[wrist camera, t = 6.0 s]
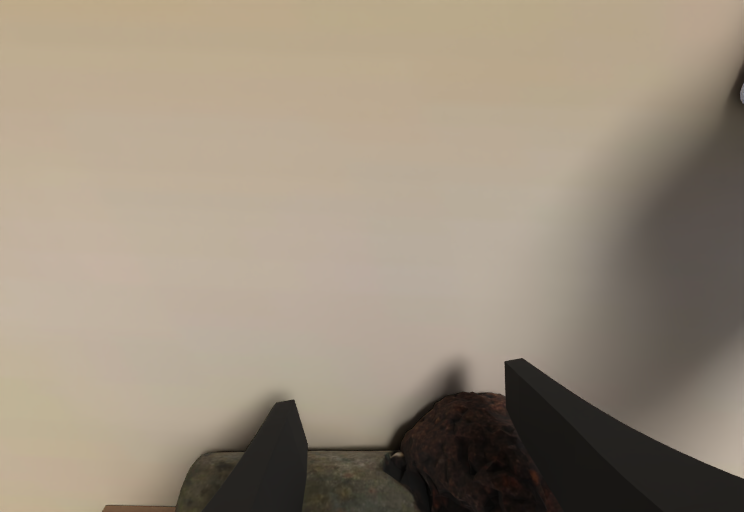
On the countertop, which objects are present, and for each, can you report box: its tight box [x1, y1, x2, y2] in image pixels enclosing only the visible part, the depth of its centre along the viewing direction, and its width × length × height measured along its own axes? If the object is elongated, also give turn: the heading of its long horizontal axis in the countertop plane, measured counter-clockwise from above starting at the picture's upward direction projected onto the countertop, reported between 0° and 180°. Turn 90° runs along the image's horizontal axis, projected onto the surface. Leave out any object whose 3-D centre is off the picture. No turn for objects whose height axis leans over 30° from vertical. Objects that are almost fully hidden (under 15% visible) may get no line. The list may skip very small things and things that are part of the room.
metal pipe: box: [175, 392, 564, 512], centre depth 14 cm, size 18×7×6 cm, turn 90°
